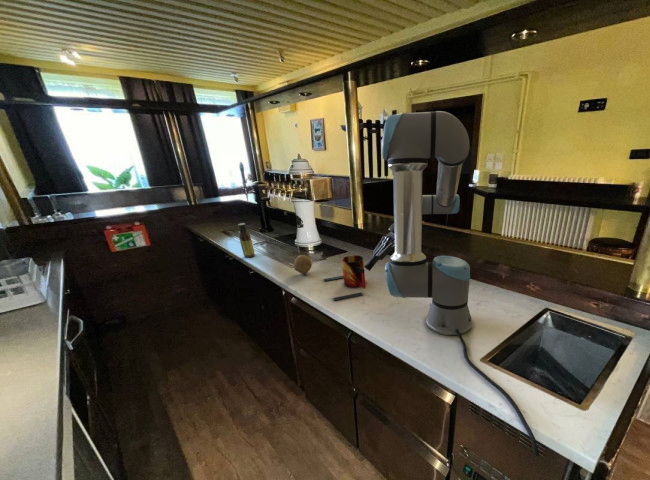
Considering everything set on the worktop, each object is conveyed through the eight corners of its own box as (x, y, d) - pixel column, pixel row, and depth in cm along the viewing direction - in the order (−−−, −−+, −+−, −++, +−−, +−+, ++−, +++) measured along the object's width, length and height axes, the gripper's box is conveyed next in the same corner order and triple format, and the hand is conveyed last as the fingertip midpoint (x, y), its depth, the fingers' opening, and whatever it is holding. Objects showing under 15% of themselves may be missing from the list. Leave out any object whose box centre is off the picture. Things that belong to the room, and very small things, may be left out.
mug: (364, 291, 131) (362, 265, 126) (339, 285, 137) (337, 260, 132) (376, 283, 138) (375, 258, 133) (352, 277, 145) (350, 254, 140)
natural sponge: (314, 275, 150) (311, 256, 145) (296, 278, 147) (292, 259, 143) (312, 269, 157) (309, 251, 153) (294, 272, 155) (291, 254, 150)
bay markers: (362, 295, 127) (362, 294, 127) (334, 301, 123) (334, 300, 123) (348, 275, 148) (348, 274, 148) (324, 279, 144) (324, 279, 144)
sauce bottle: (246, 255, 185) (238, 222, 177) (256, 254, 186) (248, 222, 177) (242, 258, 179) (234, 225, 171) (253, 257, 180) (245, 224, 172)
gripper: (411, 236, 131) (377, 278, 133) (400, 229, 142) (368, 268, 144) (400, 225, 127) (364, 269, 129) (389, 219, 138) (356, 259, 140)
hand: (366, 268), depth 137 cm, fingers closed
